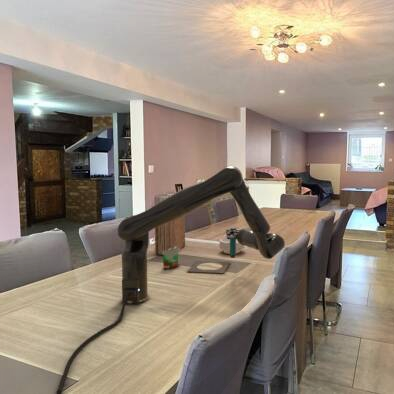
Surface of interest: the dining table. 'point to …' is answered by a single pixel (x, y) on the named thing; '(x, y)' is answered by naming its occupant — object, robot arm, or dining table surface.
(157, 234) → the brown wooden block
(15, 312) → the dining table surface
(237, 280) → the dining table surface
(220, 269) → the square plate with hole
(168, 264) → the potted plant
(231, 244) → the marker
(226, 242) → the paper bowls
